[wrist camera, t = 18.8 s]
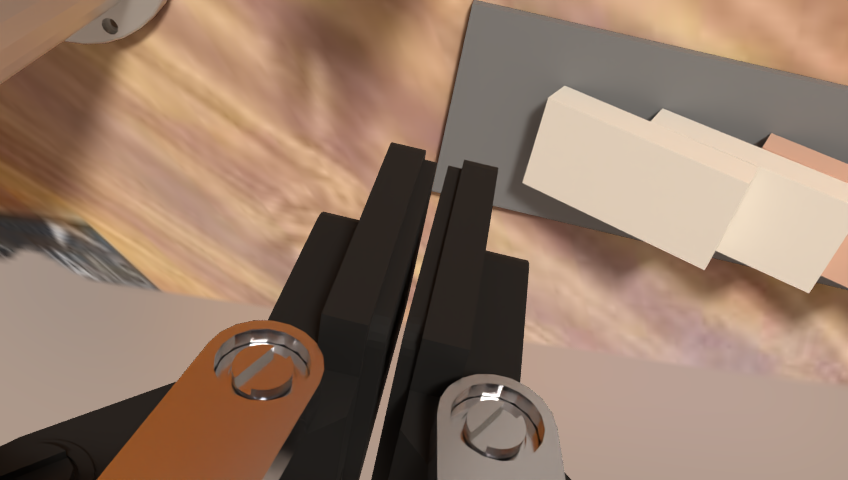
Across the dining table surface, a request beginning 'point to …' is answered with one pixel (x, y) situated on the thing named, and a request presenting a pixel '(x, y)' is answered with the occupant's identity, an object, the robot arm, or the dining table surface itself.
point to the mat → (614, 99)
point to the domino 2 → (777, 209)
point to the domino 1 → (637, 175)
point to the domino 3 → (844, 264)
